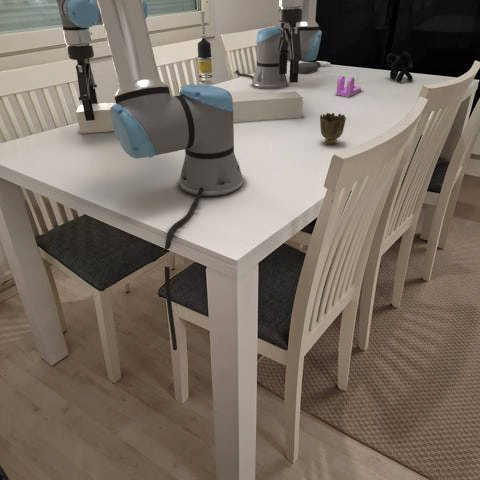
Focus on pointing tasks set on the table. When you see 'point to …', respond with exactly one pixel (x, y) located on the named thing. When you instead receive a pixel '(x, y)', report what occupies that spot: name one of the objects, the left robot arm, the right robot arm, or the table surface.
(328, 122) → the cup
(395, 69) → the squiggle
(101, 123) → the slab
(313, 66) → the frying pan
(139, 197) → the table surface
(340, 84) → the bracket
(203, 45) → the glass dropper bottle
